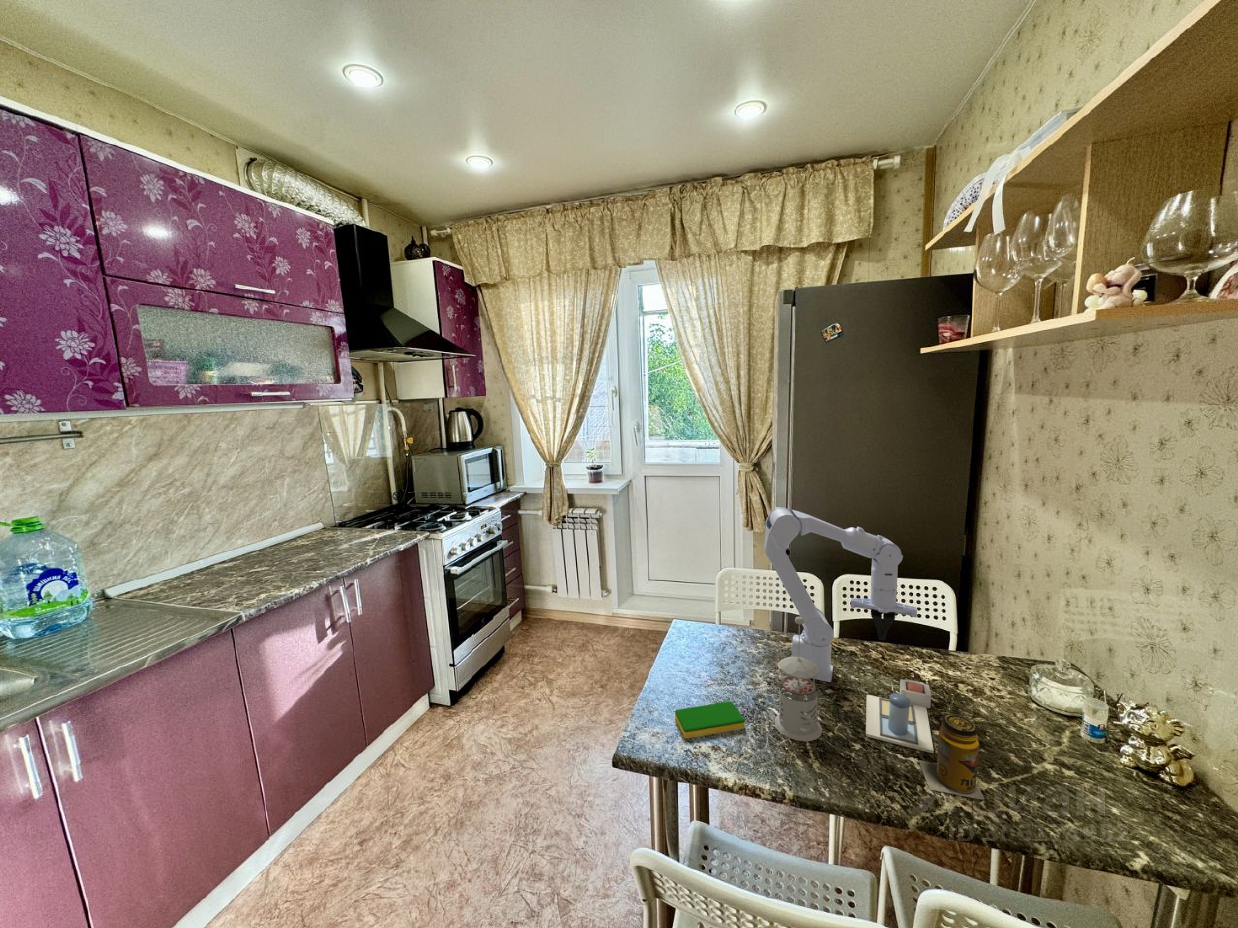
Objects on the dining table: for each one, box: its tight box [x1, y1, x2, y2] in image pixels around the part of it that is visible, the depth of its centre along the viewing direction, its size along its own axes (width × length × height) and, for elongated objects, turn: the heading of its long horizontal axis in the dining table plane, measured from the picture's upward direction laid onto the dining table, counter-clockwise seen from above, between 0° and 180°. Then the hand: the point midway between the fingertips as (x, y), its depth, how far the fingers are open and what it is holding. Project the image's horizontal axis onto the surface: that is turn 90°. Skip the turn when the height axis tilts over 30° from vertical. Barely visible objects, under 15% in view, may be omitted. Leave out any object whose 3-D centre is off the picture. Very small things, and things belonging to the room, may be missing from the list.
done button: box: [908, 682, 923, 693], centre depth 114 cm, size 3×3×3 cm
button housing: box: [899, 678, 932, 709], centre depth 114 cm, size 6×6×3 cm
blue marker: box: [888, 692, 910, 735], centre depth 102 cm, size 4×4×7 cm
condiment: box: [918, 713, 985, 800], centre depth 89 cm, size 7×8×12 cm
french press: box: [774, 616, 823, 742], centre depth 105 cm, size 10×12×25 cm
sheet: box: [865, 694, 935, 754], centre depth 106 cm, size 12×15×1 cm
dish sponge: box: [674, 700, 746, 739], centre depth 108 cm, size 7×14×2 cm, turn 101°
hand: (881, 638), depth 123 cm, fingers closed
